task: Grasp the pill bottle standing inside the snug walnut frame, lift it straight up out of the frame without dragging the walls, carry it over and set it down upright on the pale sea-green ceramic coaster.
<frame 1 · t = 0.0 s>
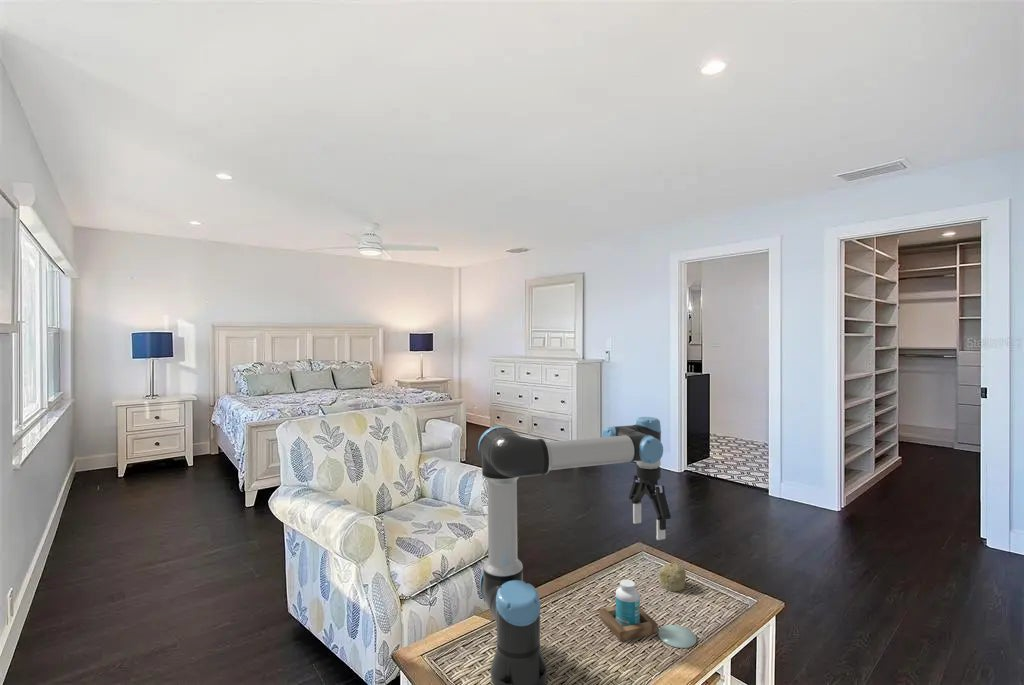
hand: (648, 530, 163), 28 cm above the table, fingers open, 13 cm apart
coaster: (677, 636, 152), on the table
walnut frame: (627, 625, 159), on the table
pill bottle: (627, 625, 159), resting in walnut frame
decorative object: (672, 586, 182), on the table
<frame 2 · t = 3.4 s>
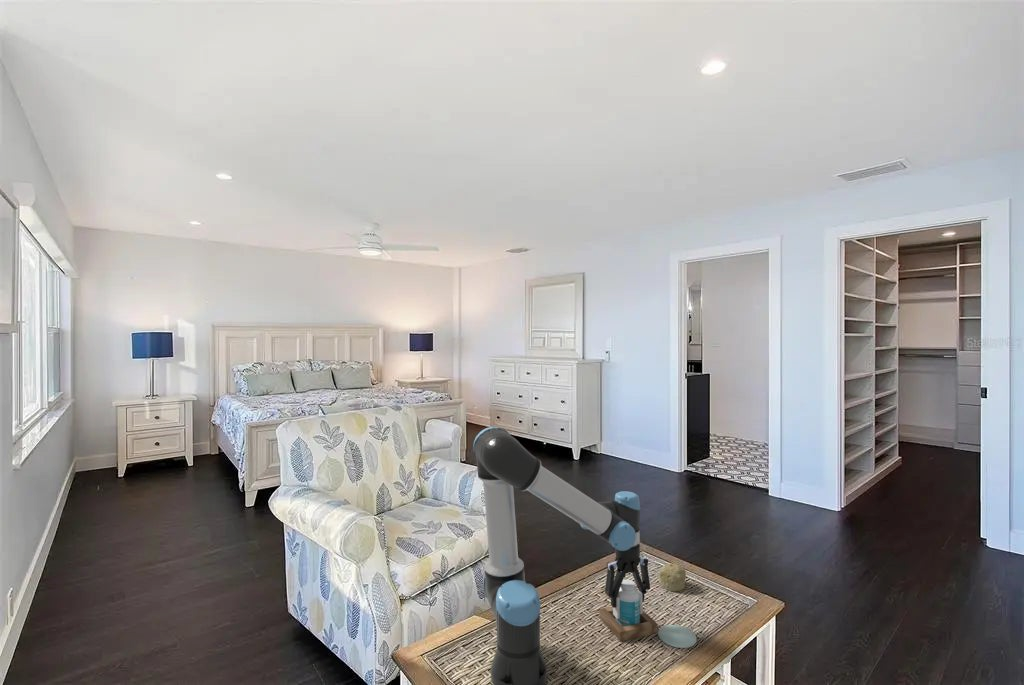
hand: (627, 614, 158), 4 cm above the table, fingers closed on pill bottle, 7 cm apart
pill bottle: (627, 625, 158), resting in walnut frame, touching gripper
everything else where it was.
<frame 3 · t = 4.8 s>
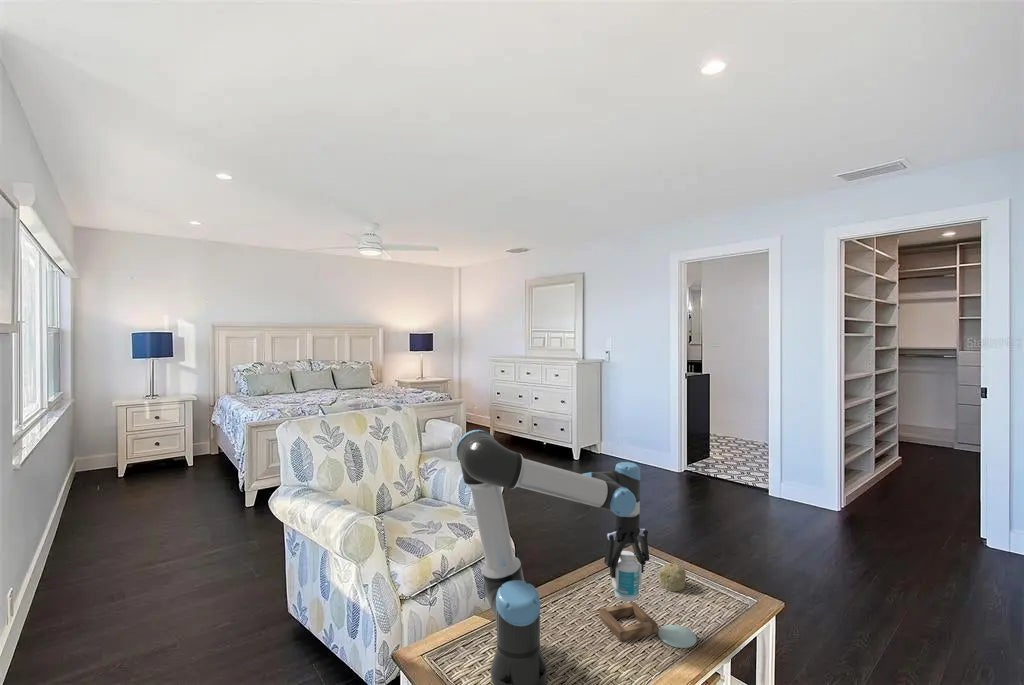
hand: (626, 585, 158), 13 cm above the table, fingers closed on pill bottle, 7 cm apart
pill bottle: (626, 596, 158), point 9 cm above the table, touching gripper
everything else where it was.
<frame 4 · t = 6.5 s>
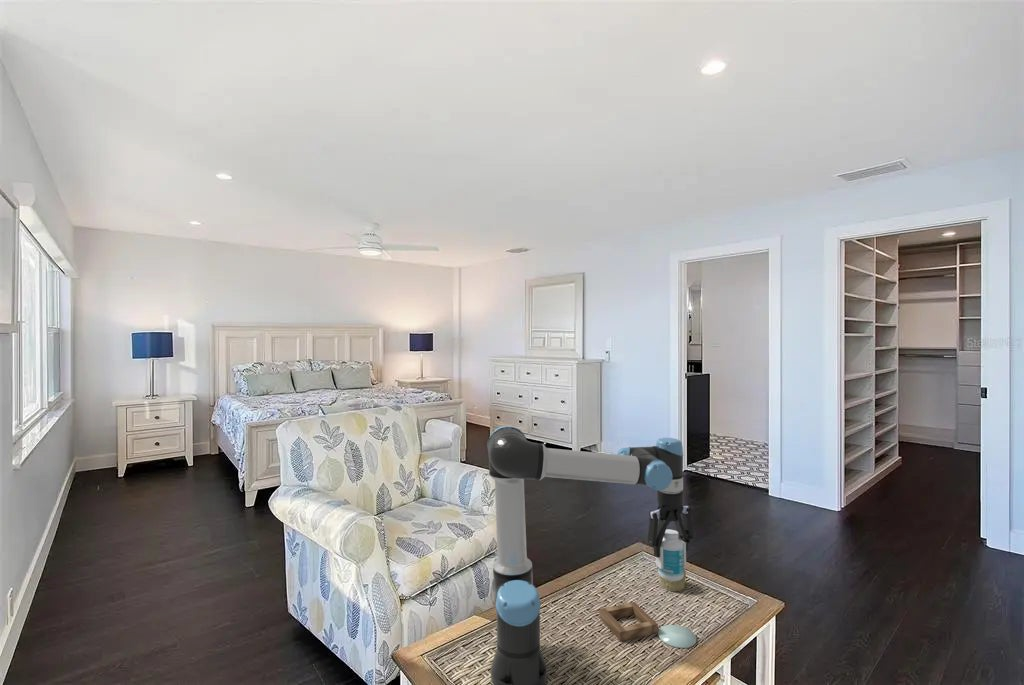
hand: (671, 564, 153), 22 cm above the table, fingers closed on pill bottle, 7 cm apart
pill bottle: (671, 576, 153), point 18 cm above the table, touching gripper
everything else where it was.
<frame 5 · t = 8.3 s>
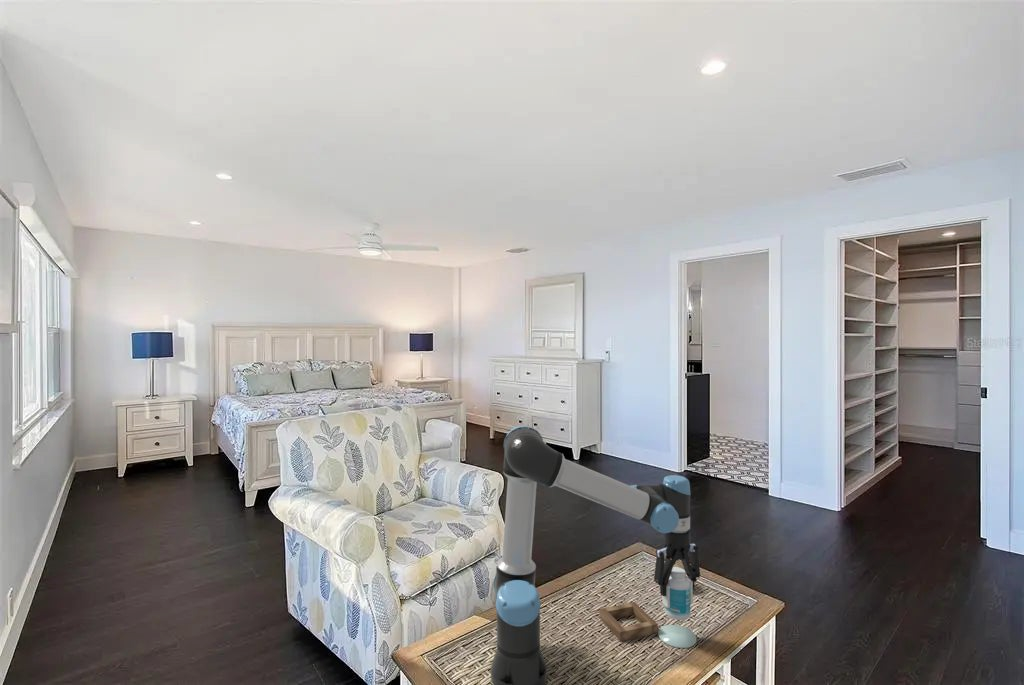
hand: (677, 602, 152), 10 cm above the table, fingers closed on pill bottle, 7 cm apart
pill bottle: (677, 615, 152), point 7 cm above the table, touching gripper
everything else where it was.
when the fingers open (5 cm above the table, at t = 9.9 s): pill bottle drops 1 cm, resting on coaster.
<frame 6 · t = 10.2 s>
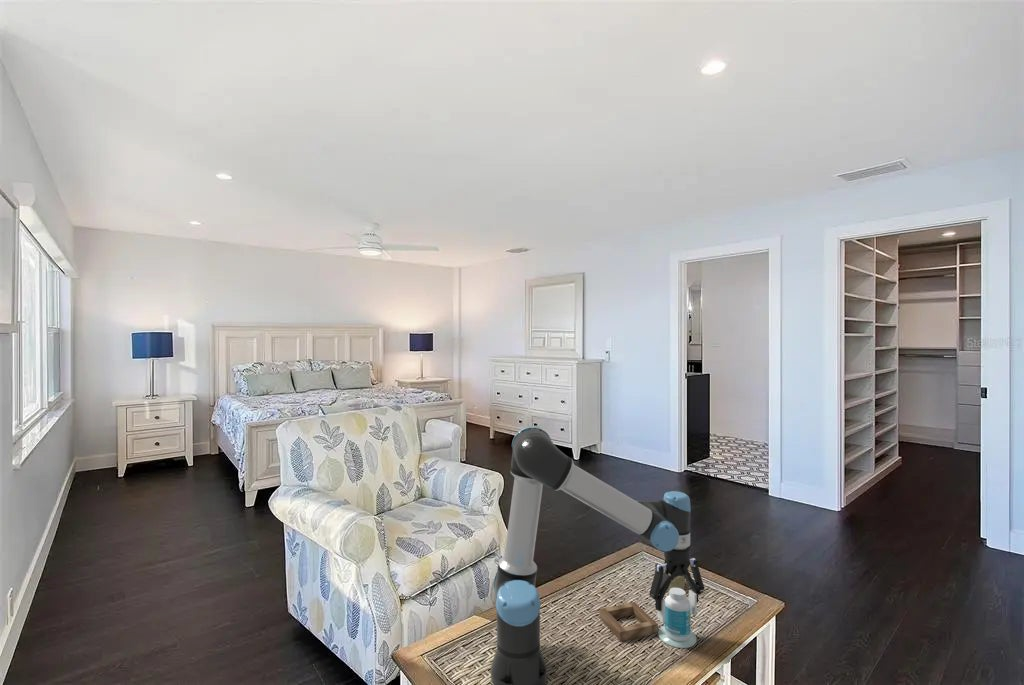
hand: (677, 616, 152), 6 cm above the table, fingers open, 10 cm apart
pill bottle: (677, 635, 152), resting on coaster
everything else where it was.
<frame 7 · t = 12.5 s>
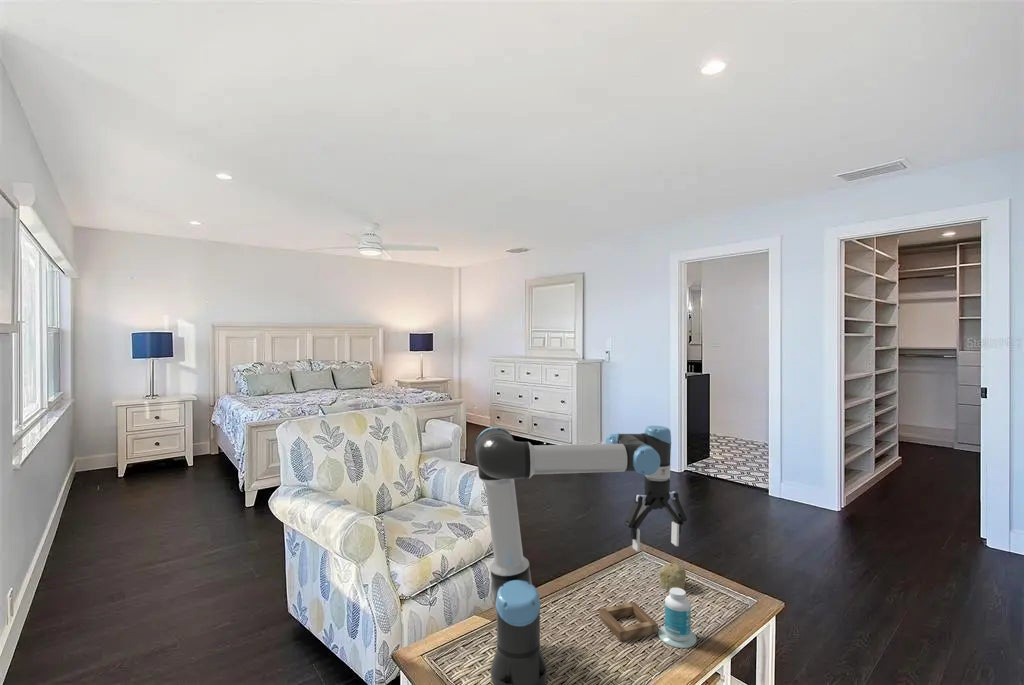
hand: (655, 547, 153), 27 cm above the table, fingers open, 13 cm apart
nothing on the table moved.
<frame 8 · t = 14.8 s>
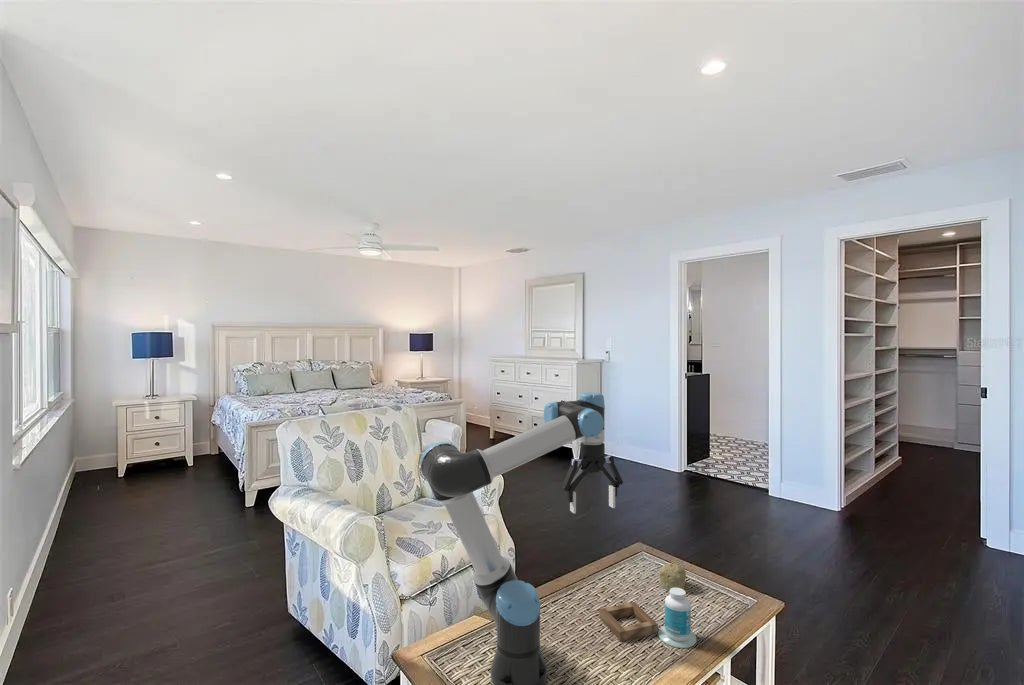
hand: (592, 509, 158), 37 cm above the table, fingers open, 13 cm apart
nothing on the table moved.
at the end: pill bottle 0.2 cm from the coaster (horizontally); pill bottle tilted 0°; pill bottle resting on coaster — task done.
